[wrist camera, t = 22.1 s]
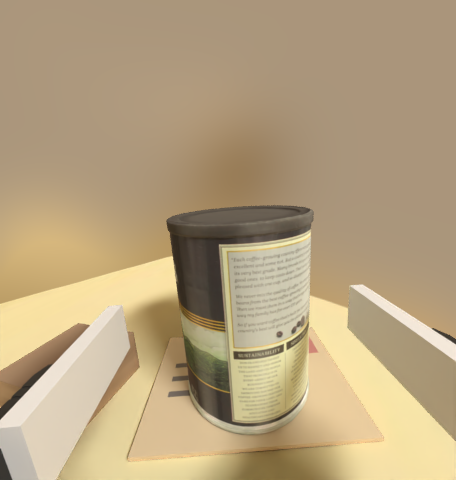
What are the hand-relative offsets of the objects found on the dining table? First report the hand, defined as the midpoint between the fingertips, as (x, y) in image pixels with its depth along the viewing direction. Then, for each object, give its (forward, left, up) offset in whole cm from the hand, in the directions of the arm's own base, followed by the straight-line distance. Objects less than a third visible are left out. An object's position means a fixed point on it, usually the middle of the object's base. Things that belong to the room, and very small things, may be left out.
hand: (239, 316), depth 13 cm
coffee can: (+1, +5, -9) cm, 10 cm away
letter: (0, +5, -9) cm, 10 cm away
